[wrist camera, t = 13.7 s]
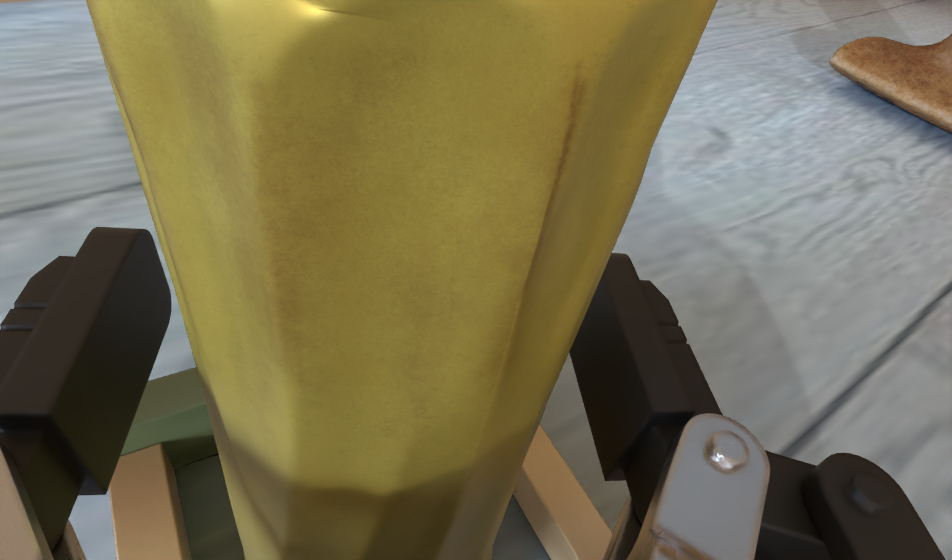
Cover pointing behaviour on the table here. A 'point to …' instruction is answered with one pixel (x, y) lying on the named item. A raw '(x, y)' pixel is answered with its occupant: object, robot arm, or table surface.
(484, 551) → the vase
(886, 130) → the table surface
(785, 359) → the table surface
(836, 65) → the clay pipe
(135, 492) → the u-shaped frame
